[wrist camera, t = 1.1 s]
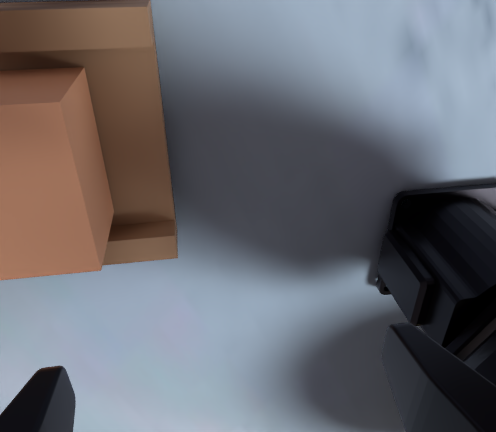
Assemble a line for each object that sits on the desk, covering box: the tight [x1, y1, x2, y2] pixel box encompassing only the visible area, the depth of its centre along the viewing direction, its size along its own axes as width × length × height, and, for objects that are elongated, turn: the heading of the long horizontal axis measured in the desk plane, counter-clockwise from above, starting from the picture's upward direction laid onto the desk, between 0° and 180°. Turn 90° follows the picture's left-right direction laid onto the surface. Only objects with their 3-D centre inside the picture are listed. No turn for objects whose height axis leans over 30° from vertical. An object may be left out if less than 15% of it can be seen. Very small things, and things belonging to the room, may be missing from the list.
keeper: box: [0, 67, 114, 280], centre depth 15 cm, size 5×6×4 cm
